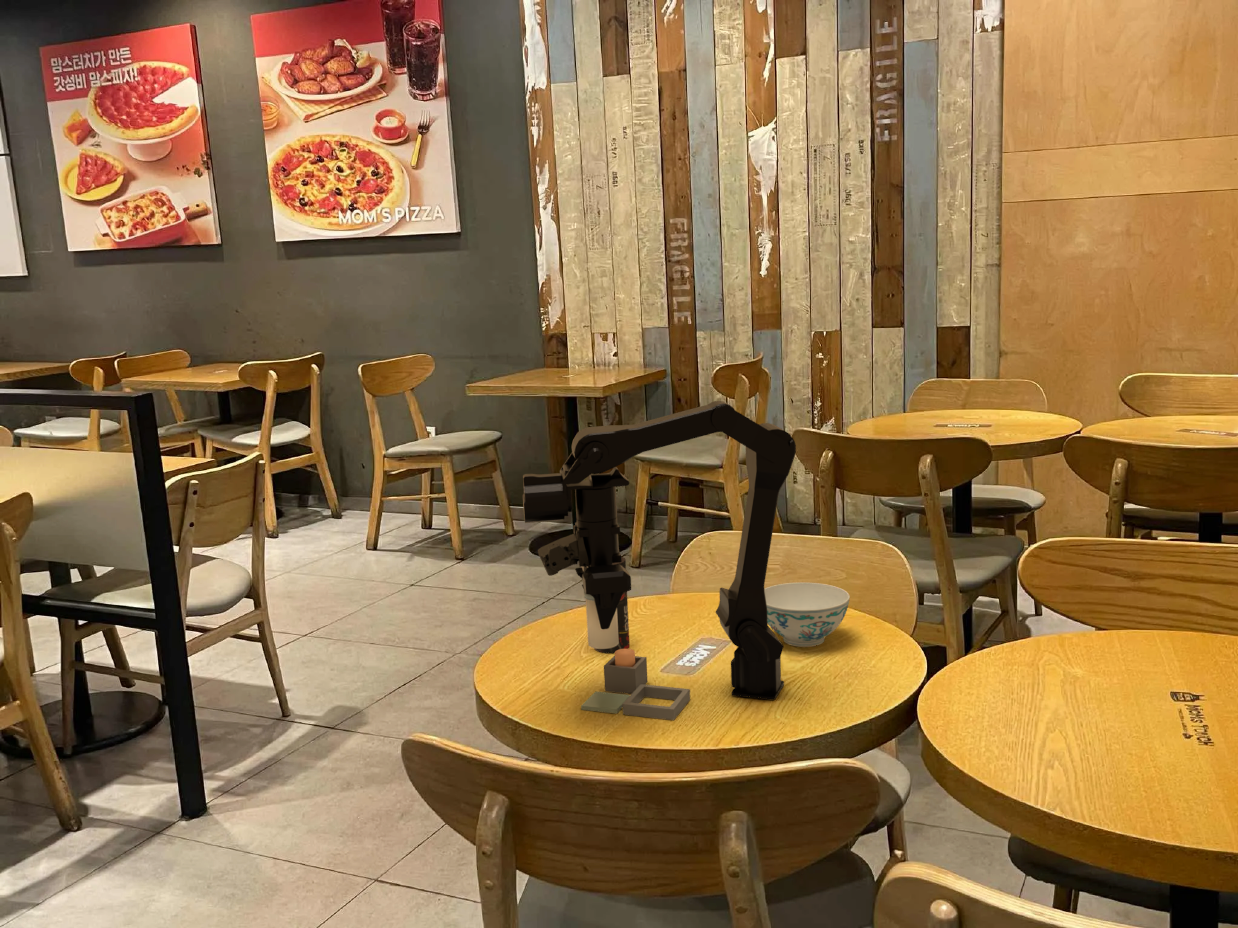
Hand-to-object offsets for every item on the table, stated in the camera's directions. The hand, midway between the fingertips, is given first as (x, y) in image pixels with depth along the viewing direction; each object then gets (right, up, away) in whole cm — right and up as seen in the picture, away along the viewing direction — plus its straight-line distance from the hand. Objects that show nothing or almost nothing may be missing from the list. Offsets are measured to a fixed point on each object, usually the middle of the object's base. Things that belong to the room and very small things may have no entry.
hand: (602, 623), depth 158 cm
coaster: (+1, -12, +2) cm, 12 cm away
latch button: (+3, -9, +8) cm, 13 cm away
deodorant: (+1, -8, +26) cm, 27 cm away
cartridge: (0, -3, +1) cm, 3 cm away
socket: (+8, -12, 0) cm, 14 cm away
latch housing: (+4, -11, +8) cm, 14 cm away
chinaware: (+33, -7, +25) cm, 42 cm away
